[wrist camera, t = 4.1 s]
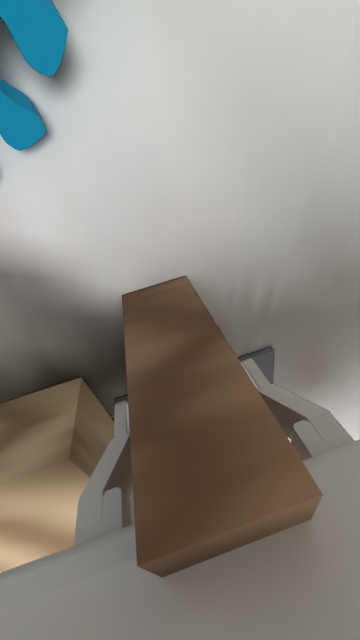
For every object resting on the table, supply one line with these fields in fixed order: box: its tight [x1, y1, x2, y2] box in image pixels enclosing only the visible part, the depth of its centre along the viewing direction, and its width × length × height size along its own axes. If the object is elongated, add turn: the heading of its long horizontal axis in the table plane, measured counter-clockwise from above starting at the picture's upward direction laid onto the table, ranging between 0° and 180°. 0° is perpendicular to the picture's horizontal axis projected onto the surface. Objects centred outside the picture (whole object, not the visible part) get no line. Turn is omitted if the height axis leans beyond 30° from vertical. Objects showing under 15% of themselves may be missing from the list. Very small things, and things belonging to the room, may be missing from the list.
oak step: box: [0, 377, 133, 572], centre depth 16 cm, size 10×12×5 cm
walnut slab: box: [122, 276, 323, 578], centre depth 10 cm, size 4×7×10 cm, turn 13°
